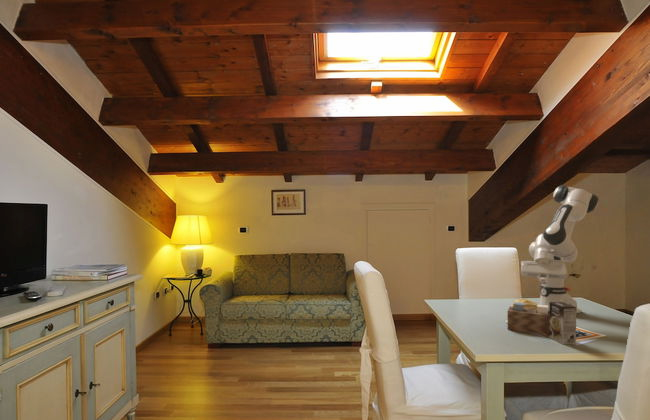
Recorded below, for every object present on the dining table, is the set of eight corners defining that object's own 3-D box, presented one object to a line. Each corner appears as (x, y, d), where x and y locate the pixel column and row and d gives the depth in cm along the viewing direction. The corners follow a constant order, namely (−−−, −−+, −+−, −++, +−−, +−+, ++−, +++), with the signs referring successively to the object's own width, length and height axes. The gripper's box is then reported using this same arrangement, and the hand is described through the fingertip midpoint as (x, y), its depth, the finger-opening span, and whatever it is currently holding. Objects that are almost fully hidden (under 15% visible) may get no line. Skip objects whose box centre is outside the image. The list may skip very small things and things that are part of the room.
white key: (537, 313, 185) (536, 306, 185) (537, 311, 189) (537, 304, 189) (547, 315, 182) (547, 307, 182) (548, 312, 186) (548, 305, 186)
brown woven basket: (507, 329, 189) (507, 310, 189) (509, 324, 197) (509, 306, 197) (553, 335, 179) (553, 316, 179) (553, 330, 188) (553, 311, 188)
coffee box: (548, 337, 177) (548, 301, 176) (562, 337, 177) (562, 301, 177) (562, 344, 167) (562, 306, 167) (576, 344, 168) (576, 306, 168)
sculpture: (519, 322, 200) (519, 301, 200) (507, 316, 212) (506, 296, 212) (541, 322, 200) (541, 301, 200) (527, 315, 212) (527, 295, 212)
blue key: (513, 311, 190) (513, 303, 190) (514, 309, 194) (514, 301, 194) (523, 312, 188) (523, 304, 188) (524, 310, 191) (524, 303, 191)
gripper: (520, 255, 204) (519, 277, 195) (567, 258, 193) (567, 281, 185) (521, 263, 208) (519, 285, 199) (566, 266, 197) (567, 289, 189)
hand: (543, 283), depth 192 cm, fingers closed
